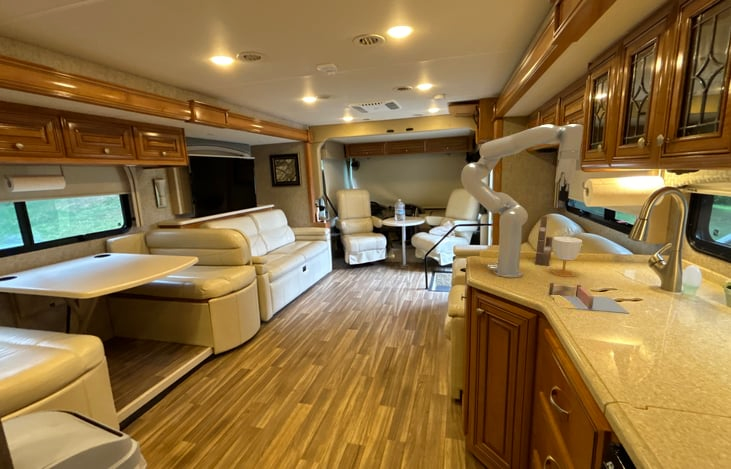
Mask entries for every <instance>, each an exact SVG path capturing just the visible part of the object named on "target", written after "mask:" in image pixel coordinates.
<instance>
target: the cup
mask: <svg viewBox="0 0 731 469" xmlns="http://www.w3.org/2000/svg"><path fill="white" fill-rule="evenodd" d="M582 243H583V240H582V239H579V238H576V237H572V236H571V237H569V236H554V237H553V241H552V251H553V254H554V256H555V257H556V258H557V259H559V260H561V261H562V262H563V264H562V269H561V270H553V271H552V273H553V275H556V276H558V277H564V278H565V277H566V278H573V277H574V276H575V274H574V273H573V272H571V271H567V270H566V265H567V262H570V261H572V260H575V259H577V258H578V256H579V254H580V251H581V248H582Z"/></svg>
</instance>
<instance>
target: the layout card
mask: <svg viewBox="0 0 731 469" xmlns="http://www.w3.org/2000/svg"><path fill="white" fill-rule="evenodd" d="M562 297H564V298H566V299H567V300H568V301H571V302H570V303H571V304H572V305H574V307H577V309H576V310H580V309H583V311H592V312H593V311H594V312H606V313H617V314H630V312H629V311H628V310H626V308H625V307H623V306H621V305H620V304H619V303H618V302H617V301H616V300H614V299H613V298H612V297H608V296H607V297H606V296H593V297H594V300H593V307H592V308H588V307H587V306H586V305H585V304H584V303H583V302H582V301H581V300H580V299H579V298H578V297H576V294H574V297H572V296H562Z"/></svg>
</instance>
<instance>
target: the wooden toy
mask: <svg viewBox="0 0 731 469" xmlns="http://www.w3.org/2000/svg"><path fill="white" fill-rule="evenodd" d="M547 222H548V216H547V215H542V216H541V217H540V225H539V227H538V233H537V235H538V237H537V245H536V253H535V260H534V261H535V263H534V265H536V266H537V265H538V266H545V267H550V261H551V258H552V251H553V238H554V237H553V236H546V234H547V226H548V223H547Z"/></svg>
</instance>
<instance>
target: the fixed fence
mask: <svg viewBox="0 0 731 469" xmlns="http://www.w3.org/2000/svg"><path fill="white" fill-rule="evenodd" d="M578 287H582V285H581V284H576V286H575V285H566V284H565V285H563V284H555V283H554V282H549V290H548V295H549V294H550V295H560V296H572V297H574V295H576V297H577V294H578ZM550 295H549V296H550Z"/></svg>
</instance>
